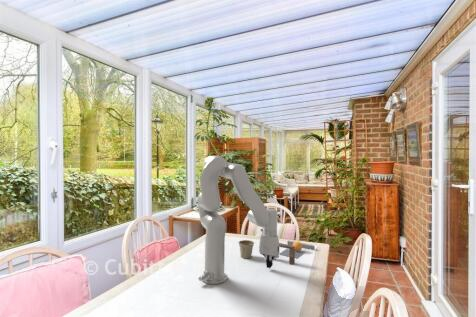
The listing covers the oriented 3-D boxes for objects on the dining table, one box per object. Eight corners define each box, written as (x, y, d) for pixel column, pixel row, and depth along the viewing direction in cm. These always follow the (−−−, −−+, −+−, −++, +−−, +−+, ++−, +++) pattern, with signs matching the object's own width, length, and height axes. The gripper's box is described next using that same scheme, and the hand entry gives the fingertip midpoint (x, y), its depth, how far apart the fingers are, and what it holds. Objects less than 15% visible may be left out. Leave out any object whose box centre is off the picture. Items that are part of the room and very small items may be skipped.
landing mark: (297, 258, 166) (297, 258, 166) (278, 254, 172) (278, 254, 172) (304, 252, 176) (304, 252, 176) (286, 249, 182) (286, 248, 182)
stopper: (313, 250, 180) (313, 246, 180) (287, 245, 190) (287, 241, 190) (314, 249, 182) (314, 245, 182) (288, 244, 192) (288, 240, 192)
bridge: (292, 264, 156) (292, 247, 156) (268, 259, 164) (268, 242, 164) (294, 263, 158) (294, 246, 158) (270, 257, 167) (271, 241, 167)
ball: (299, 252, 174) (300, 242, 175) (290, 250, 177) (291, 240, 178) (302, 252, 178) (304, 242, 180) (293, 250, 182) (295, 241, 183)
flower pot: (254, 254, 172) (254, 240, 172) (253, 260, 162) (253, 245, 162) (239, 253, 173) (239, 239, 172) (237, 259, 163) (237, 244, 163)
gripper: (253, 231, 150) (253, 266, 150) (279, 236, 141) (279, 272, 142) (260, 228, 156) (260, 261, 156) (285, 233, 148) (285, 268, 148)
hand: (269, 267), depth 149 cm, fingers closed
